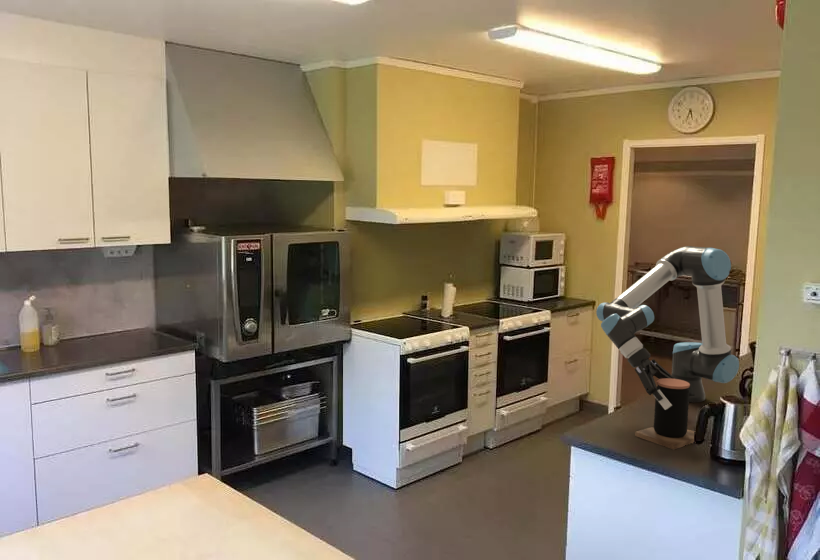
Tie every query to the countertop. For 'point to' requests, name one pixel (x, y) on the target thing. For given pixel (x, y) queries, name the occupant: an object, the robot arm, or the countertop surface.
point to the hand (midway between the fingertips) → (675, 403)
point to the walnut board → (666, 438)
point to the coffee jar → (672, 408)
